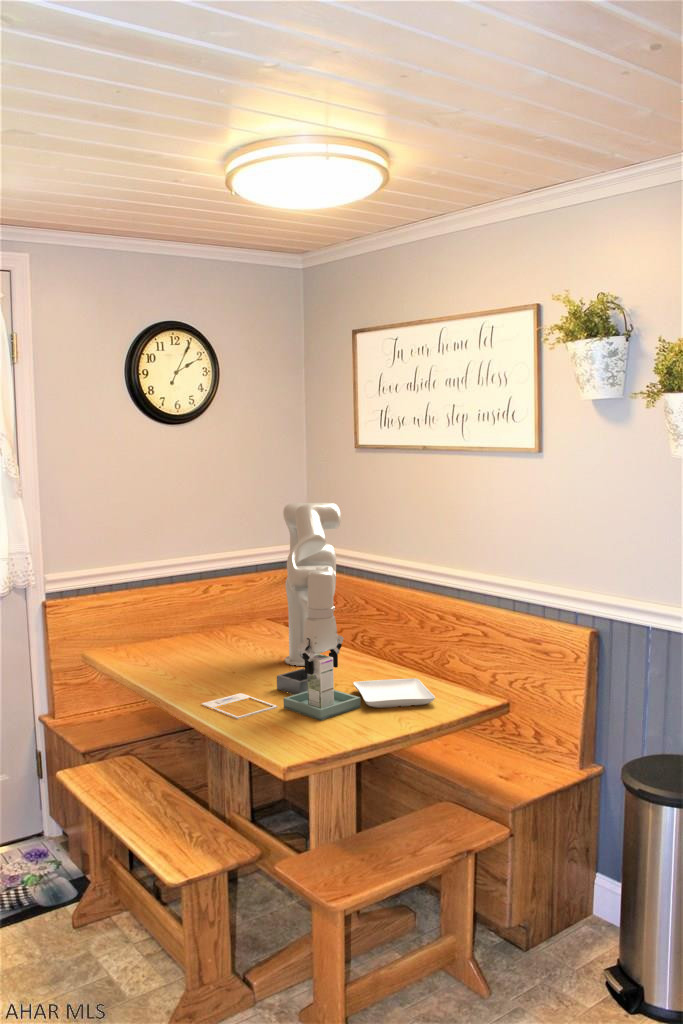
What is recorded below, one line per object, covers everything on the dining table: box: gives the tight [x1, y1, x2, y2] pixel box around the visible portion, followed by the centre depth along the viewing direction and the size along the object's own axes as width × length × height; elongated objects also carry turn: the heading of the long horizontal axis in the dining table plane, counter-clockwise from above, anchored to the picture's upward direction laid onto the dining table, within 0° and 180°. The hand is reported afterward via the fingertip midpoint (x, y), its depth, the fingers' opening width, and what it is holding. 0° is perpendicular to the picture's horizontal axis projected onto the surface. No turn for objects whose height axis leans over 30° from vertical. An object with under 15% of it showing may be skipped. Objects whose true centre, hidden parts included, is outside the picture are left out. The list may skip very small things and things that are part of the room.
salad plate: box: [352, 677, 436, 709], centre depth 260 cm, size 21×21×3 cm
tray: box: [283, 689, 362, 722], centre depth 251 cm, size 16×16×3 cm
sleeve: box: [276, 668, 308, 695], centre depth 270 cm, size 11×11×4 cm
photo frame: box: [200, 692, 279, 720], centre depth 254 cm, size 15×1×18 cm
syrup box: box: [307, 653, 335, 709], centre depth 251 cm, size 6×6×14 cm
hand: (321, 670), depth 251 cm, fingers open, 9 cm apart
